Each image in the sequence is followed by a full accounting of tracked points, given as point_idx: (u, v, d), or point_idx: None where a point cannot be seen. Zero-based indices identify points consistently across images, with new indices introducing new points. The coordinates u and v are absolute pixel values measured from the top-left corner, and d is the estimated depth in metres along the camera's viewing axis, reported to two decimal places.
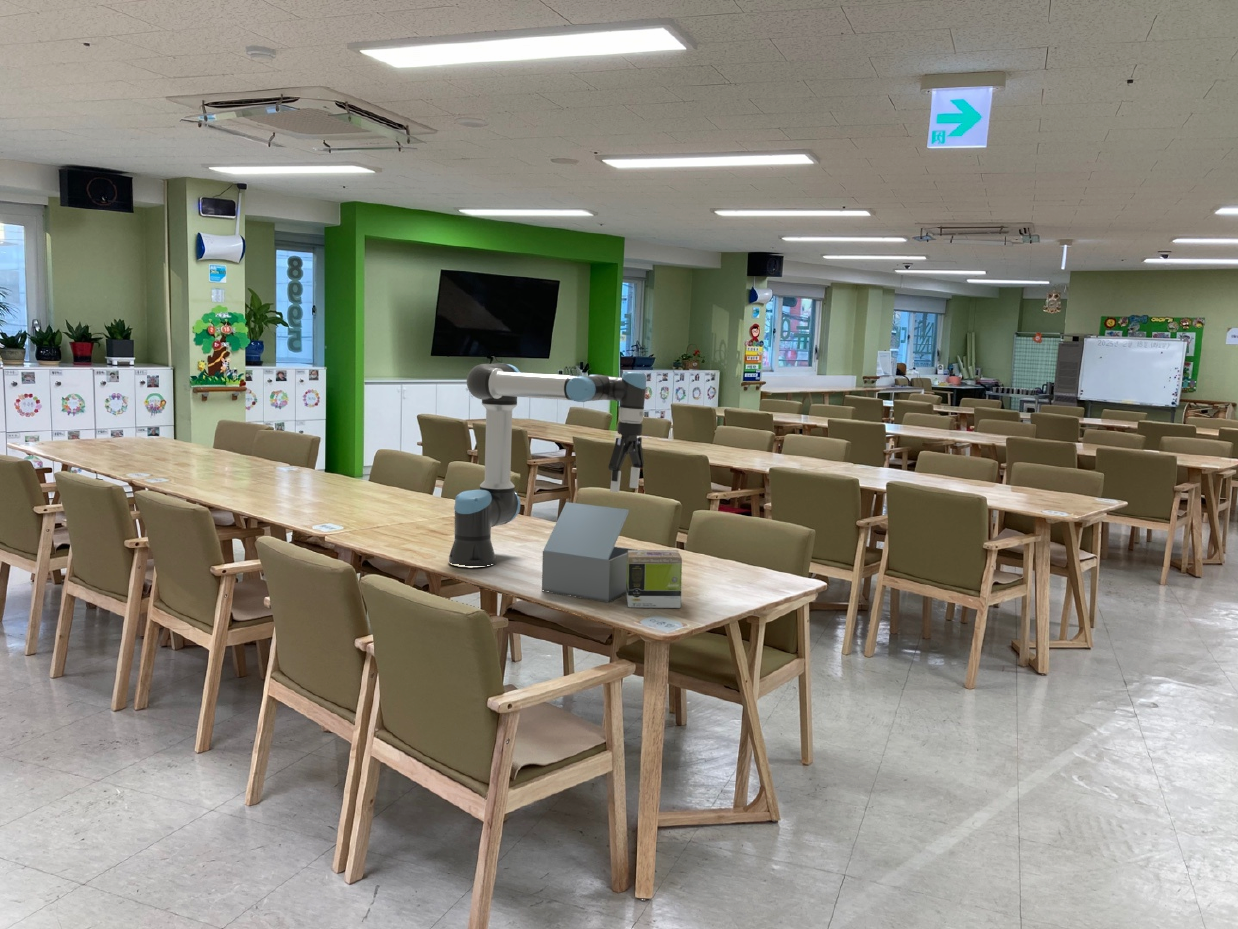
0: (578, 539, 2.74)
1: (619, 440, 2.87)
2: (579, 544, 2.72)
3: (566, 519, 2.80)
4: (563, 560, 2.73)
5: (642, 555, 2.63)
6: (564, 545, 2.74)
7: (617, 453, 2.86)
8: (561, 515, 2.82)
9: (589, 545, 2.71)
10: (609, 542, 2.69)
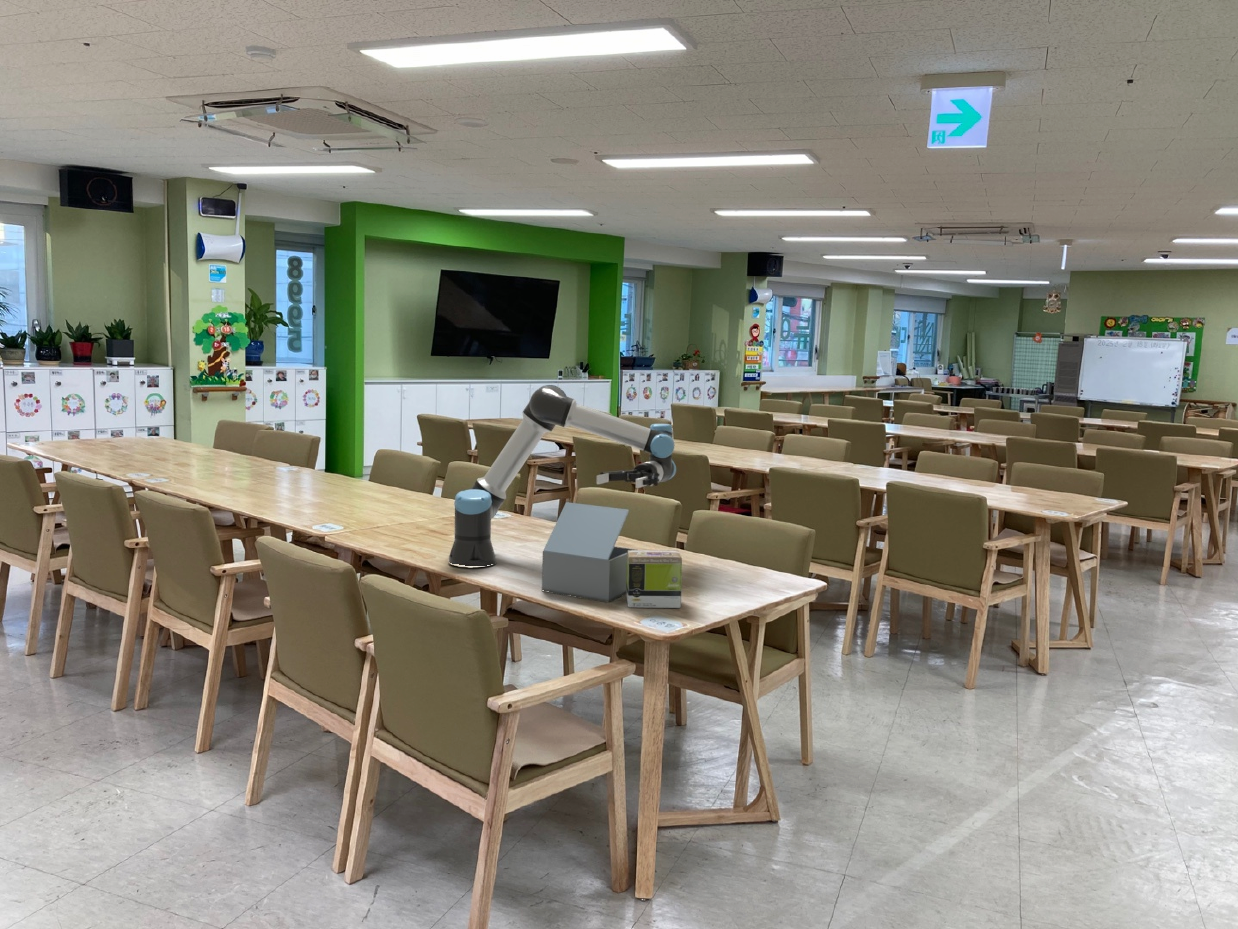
0: (578, 539, 2.74)
1: (659, 477, 3.01)
2: (579, 544, 2.72)
3: (566, 519, 2.80)
4: (563, 560, 2.73)
5: (642, 555, 2.63)
6: (564, 545, 2.74)
7: None
8: (561, 515, 2.82)
9: (589, 545, 2.71)
10: (609, 542, 2.69)
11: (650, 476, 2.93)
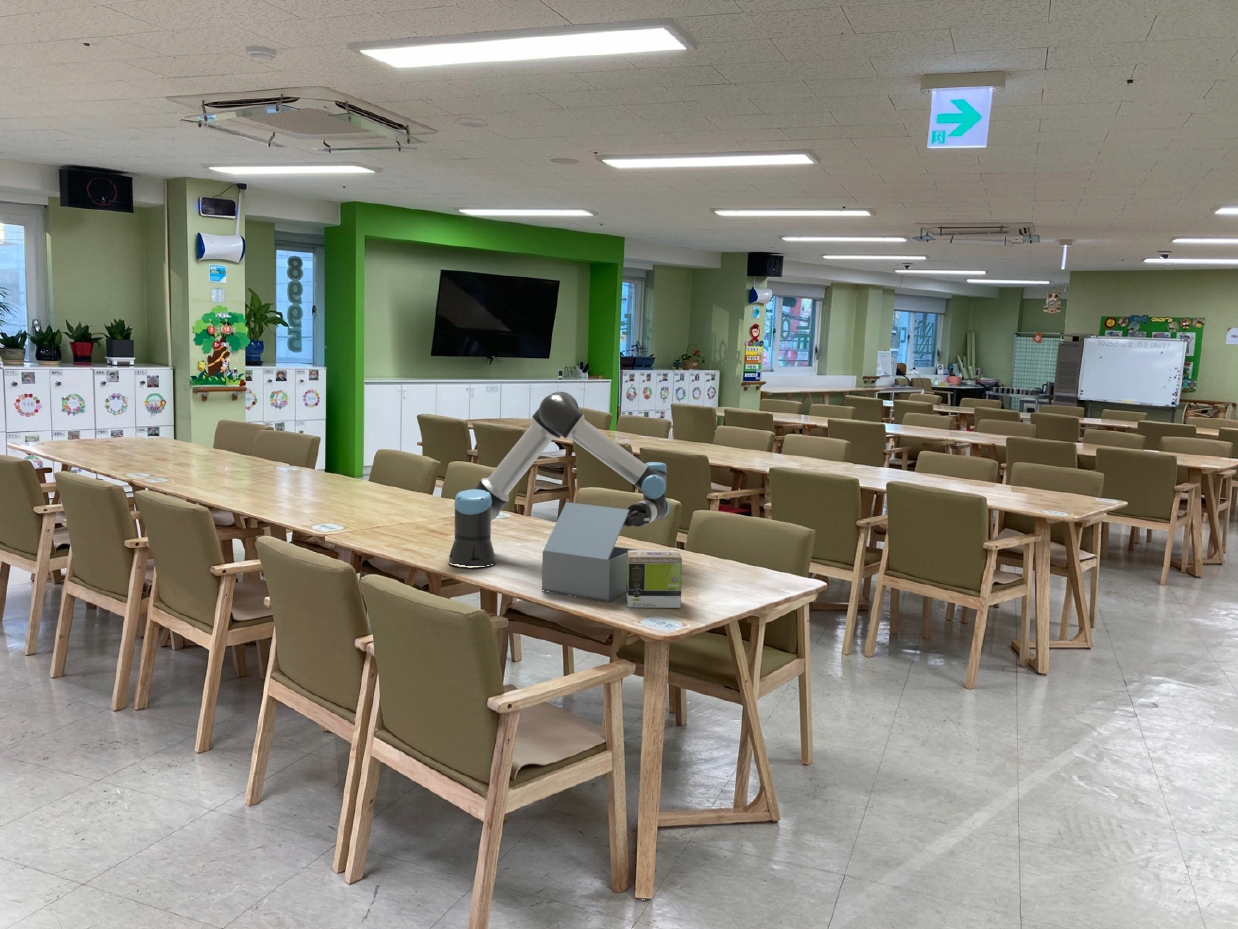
0: (578, 539, 2.74)
1: (647, 519, 2.98)
2: (579, 544, 2.72)
3: (566, 519, 2.80)
4: (563, 560, 2.73)
5: (642, 555, 2.63)
6: (564, 545, 2.74)
7: (638, 522, 2.96)
8: (561, 515, 2.82)
9: (589, 545, 2.71)
10: (609, 542, 2.69)
11: None
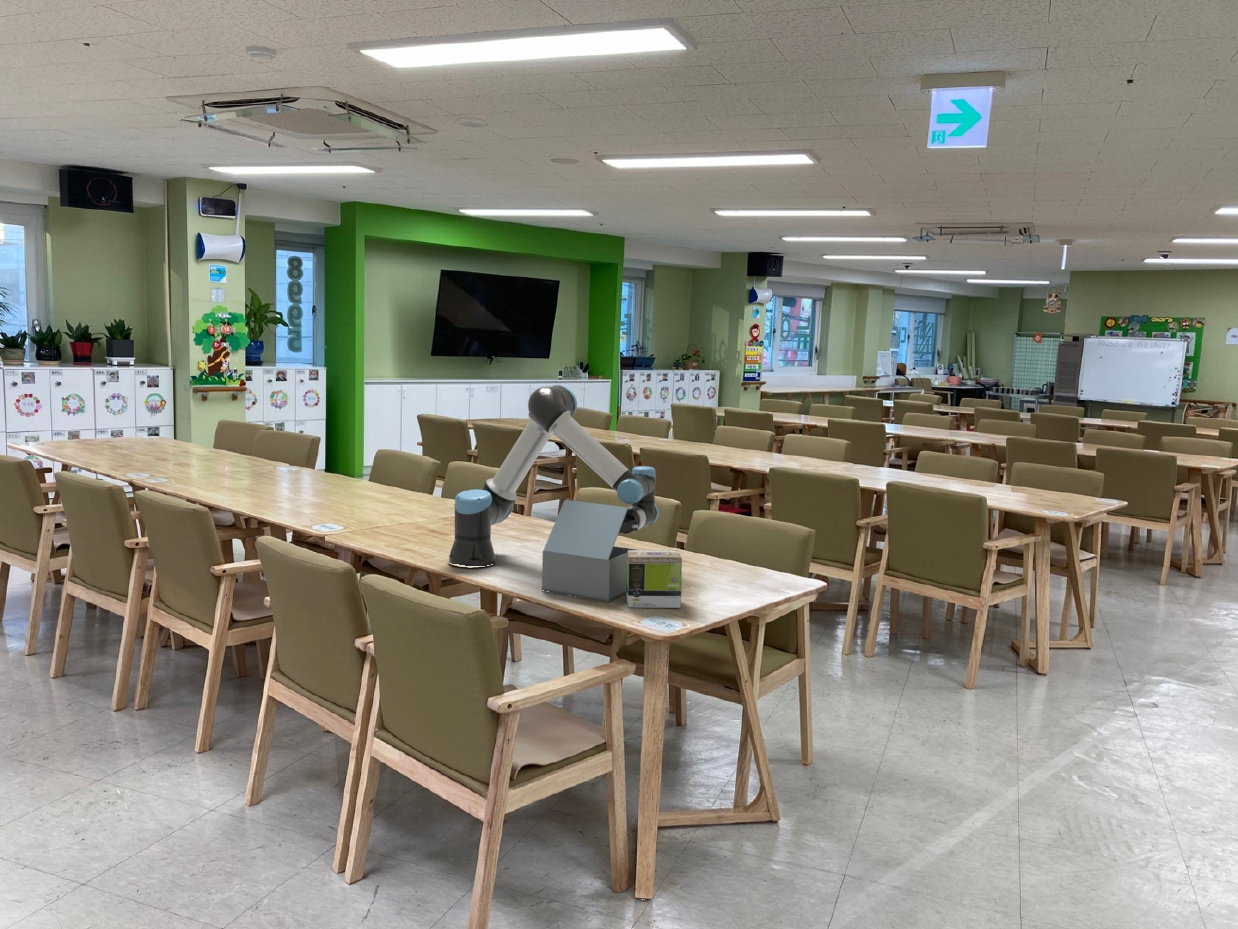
0: (578, 538, 2.73)
1: (636, 526, 2.86)
2: (579, 543, 2.72)
3: (565, 518, 2.79)
4: (563, 560, 2.73)
5: (642, 555, 2.63)
6: (564, 545, 2.74)
7: (626, 529, 2.84)
8: (560, 513, 2.81)
9: (589, 545, 2.71)
10: (609, 541, 2.69)
11: None
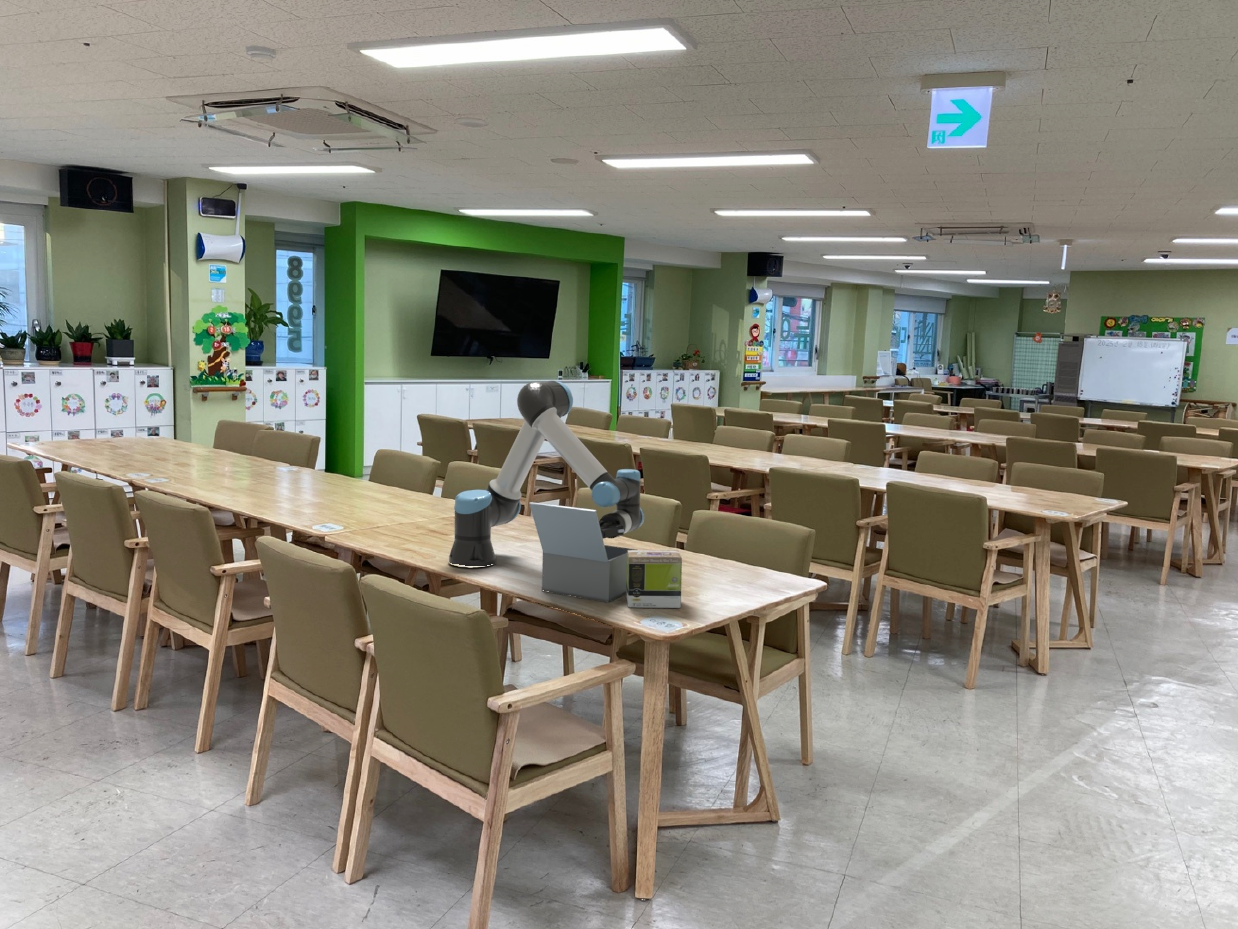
0: (567, 542, 2.68)
1: (622, 530, 2.79)
2: (572, 547, 2.69)
3: (542, 521, 2.68)
4: (563, 560, 2.73)
5: (642, 555, 2.63)
6: (559, 548, 2.71)
7: (612, 534, 2.76)
8: (534, 517, 2.68)
9: (582, 548, 2.67)
10: (598, 545, 2.63)
11: None
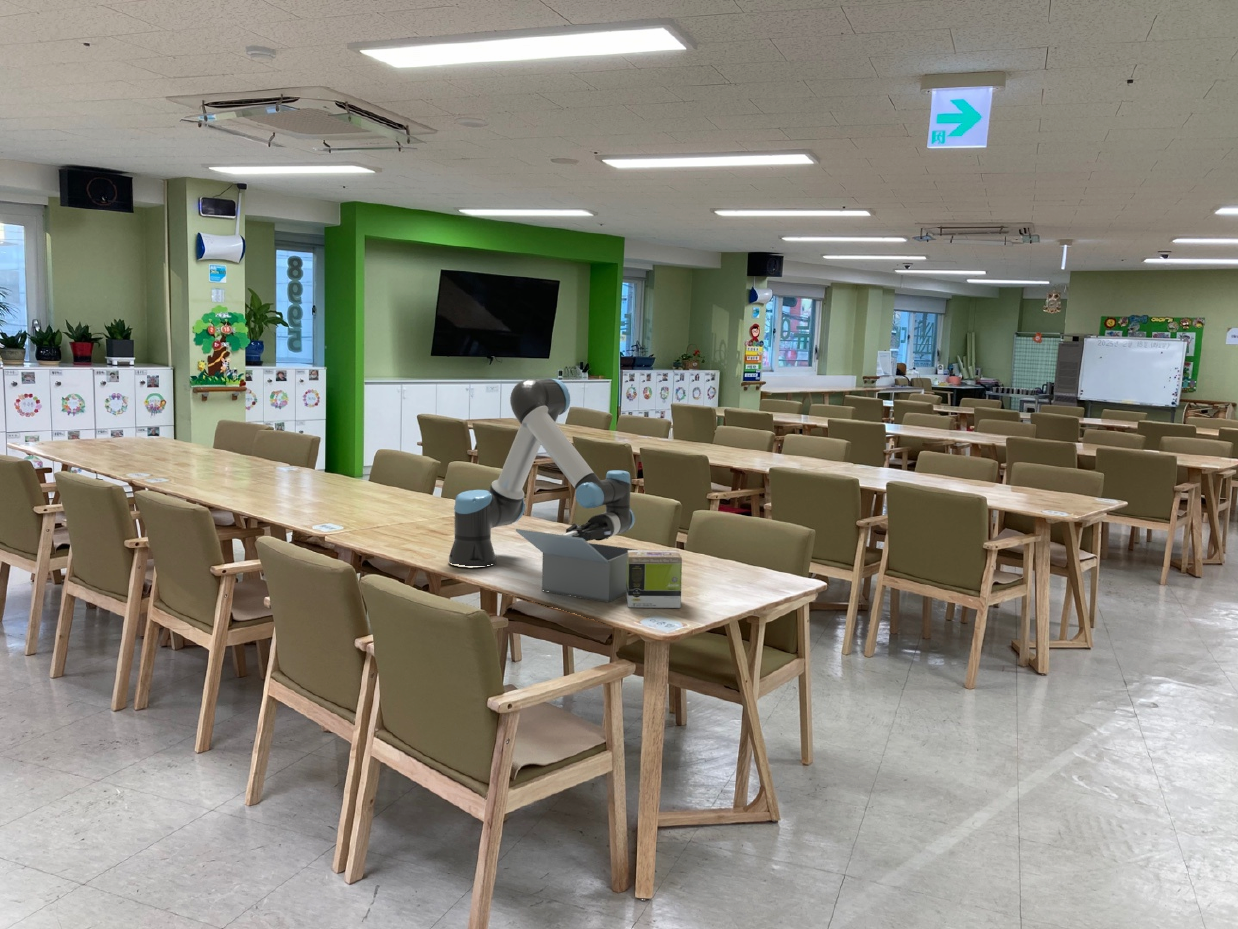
0: (564, 551, 2.67)
1: (608, 533, 2.74)
2: (569, 553, 2.68)
3: (534, 540, 2.65)
4: (563, 560, 2.73)
5: (642, 555, 2.63)
6: (557, 552, 2.71)
7: (598, 536, 2.72)
8: (525, 537, 2.65)
9: (579, 554, 2.66)
10: (594, 555, 2.62)
11: (579, 531, 2.69)
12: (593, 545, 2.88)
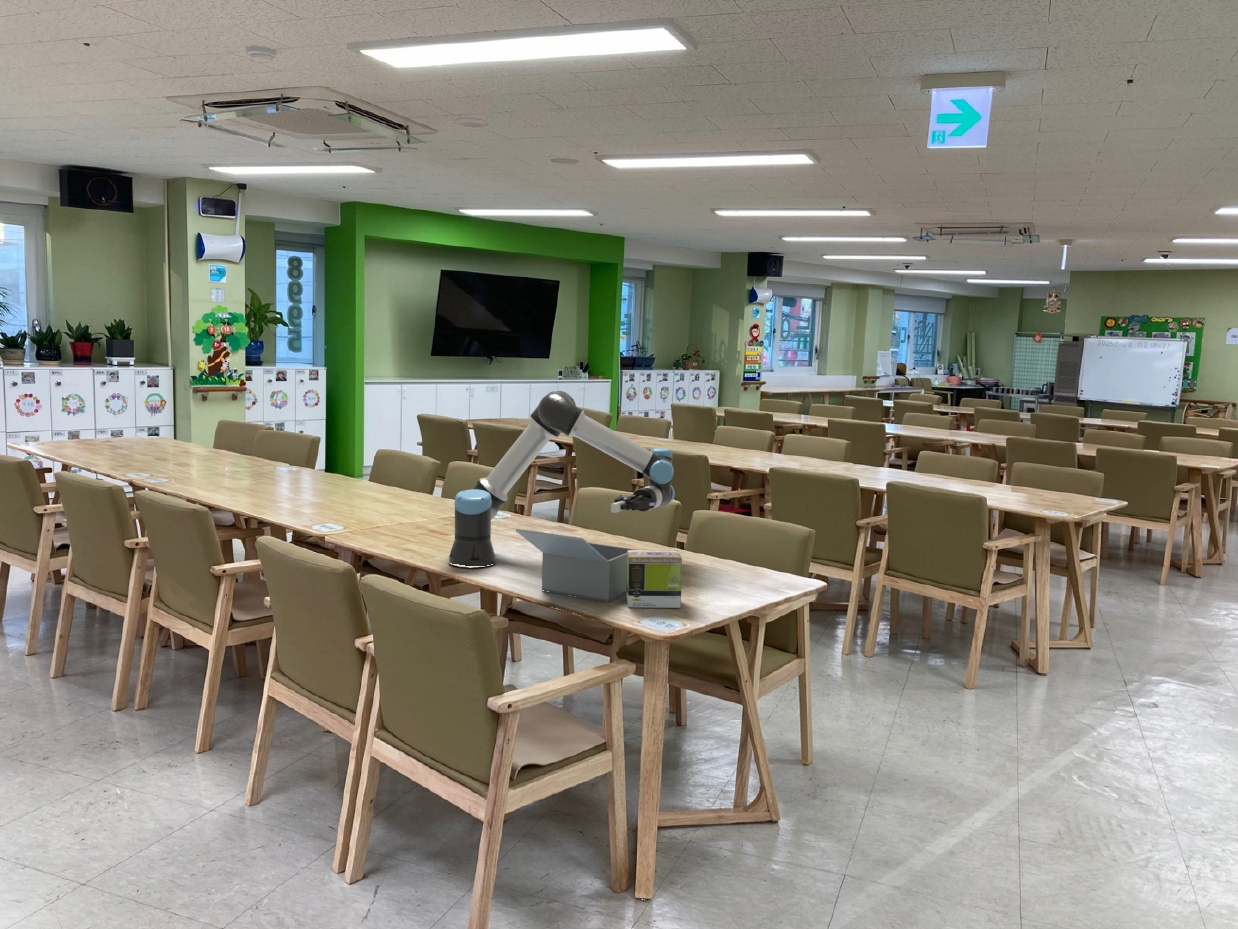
0: (564, 551, 2.67)
1: (652, 504, 3.00)
2: (569, 553, 2.68)
3: (534, 540, 2.65)
4: (563, 560, 2.73)
5: (642, 555, 2.63)
6: (557, 552, 2.71)
7: (643, 506, 2.97)
8: (525, 537, 2.65)
9: (579, 554, 2.66)
10: (594, 555, 2.62)
11: (627, 501, 2.94)
12: (593, 545, 2.88)
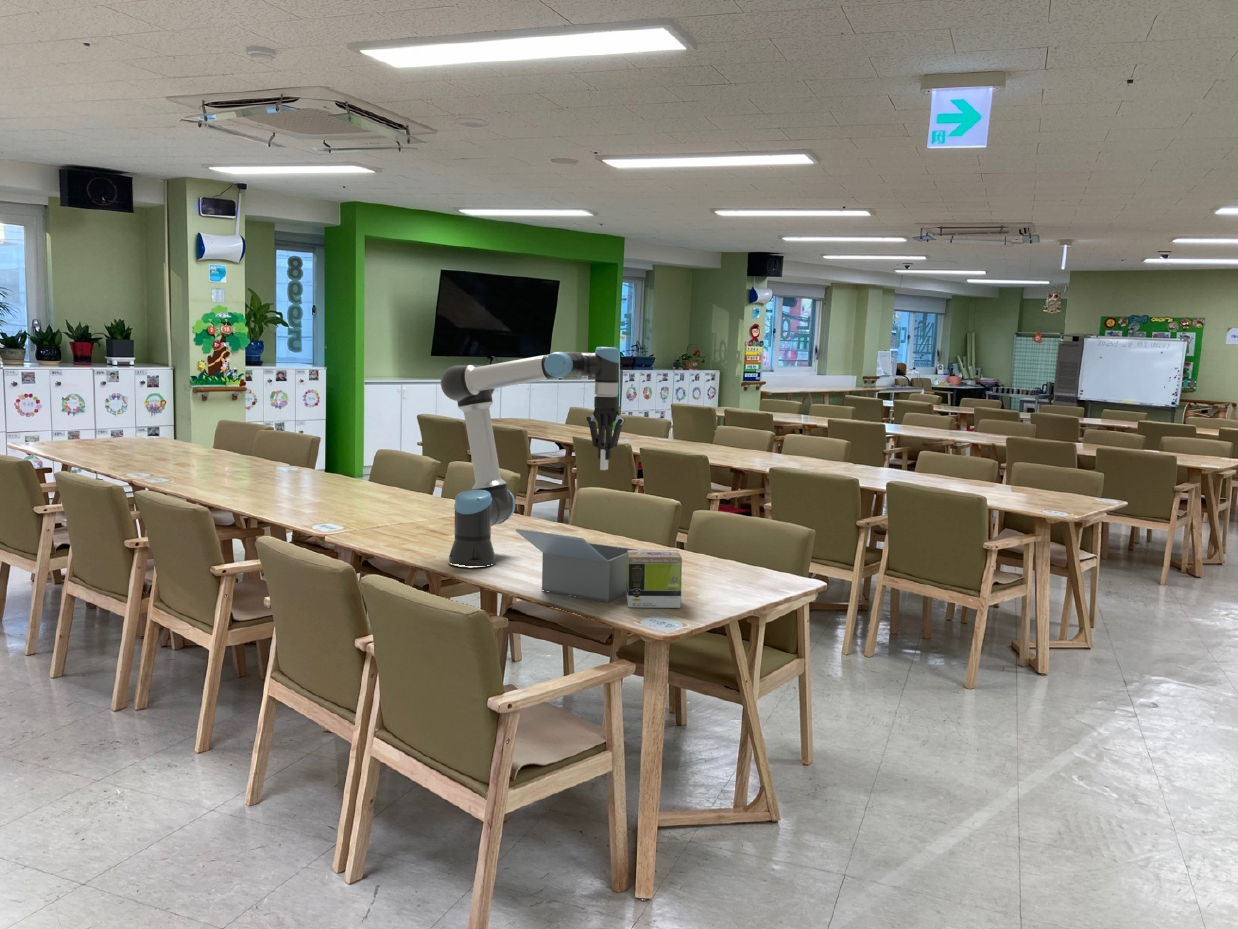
0: (564, 551, 2.67)
1: (622, 422, 2.99)
2: (569, 553, 2.68)
3: (534, 540, 2.65)
4: (563, 560, 2.73)
5: (642, 555, 2.63)
6: (557, 552, 2.71)
7: (618, 433, 3.01)
8: (525, 537, 2.65)
9: (579, 554, 2.66)
10: (594, 555, 2.62)
11: (606, 449, 3.01)
12: (593, 545, 2.88)
